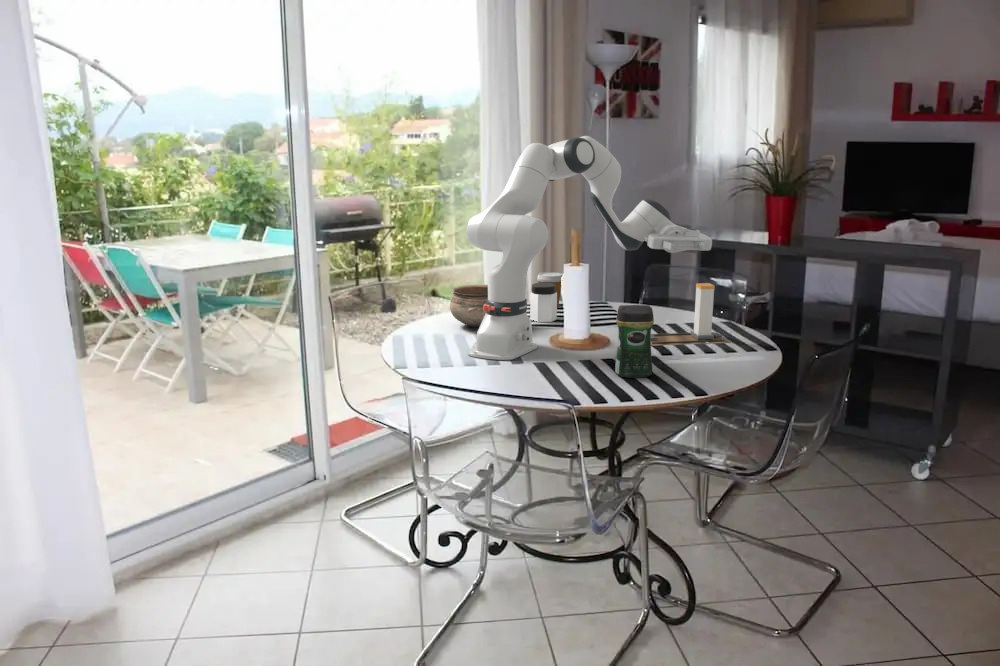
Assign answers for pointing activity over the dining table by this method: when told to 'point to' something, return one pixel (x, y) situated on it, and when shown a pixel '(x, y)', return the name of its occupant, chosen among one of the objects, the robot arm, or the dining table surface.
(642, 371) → the coffee jar
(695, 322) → the fader
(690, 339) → the board
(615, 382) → the dining table surface
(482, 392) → the dining table surface
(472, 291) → the cooking pot
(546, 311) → the jar
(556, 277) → the disposable coffee cup
